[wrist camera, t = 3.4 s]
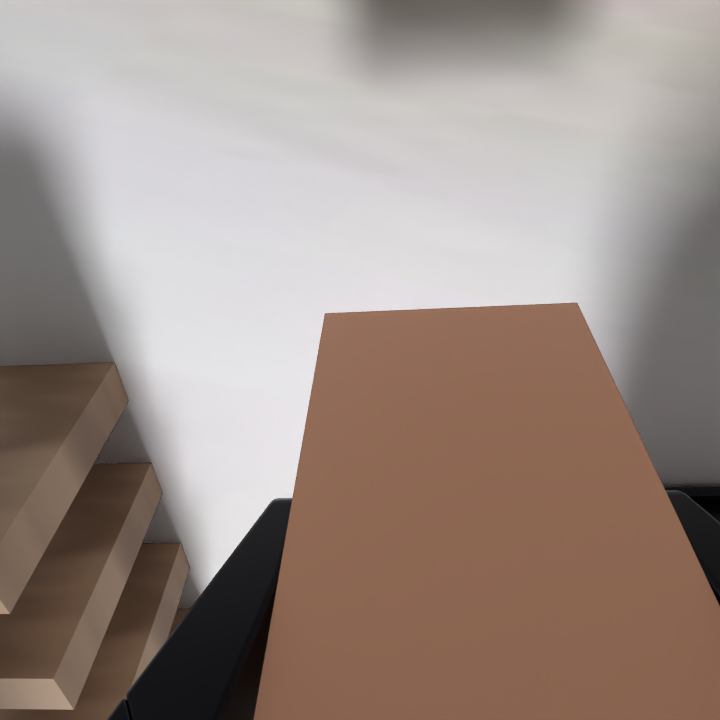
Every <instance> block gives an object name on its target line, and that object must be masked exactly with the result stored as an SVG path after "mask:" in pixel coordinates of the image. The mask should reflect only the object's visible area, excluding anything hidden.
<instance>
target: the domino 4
mask: <svg viewBox="0 0 720 720" xmlns="http://www.w3.org/2000/svg"><path fill="white" fill-rule="evenodd" d="M254 720H720V606H719V604H718V601H717V599H716V597H715V595H714V593H713V591H712V589H711V587H710V584H709V582H708V580H707V578H706V576H705V574H704V572H703V569H702V567H701V565H700V563H699V561H698V559H697V557H696V555H695V552H694V550H693V548H692V546H691V544H690V542H689V540H688V538H687V535H686V533H685V531H684V529H683V527H682V525H681V523H680V521H679V518H678V516H677V514H676V512H675V510H674V508H673V506H672V504H671V501H670V499H669V497H668V495H667V493H666V491H665V489H664V486H663V484H662V482H661V480H660V478H659V476H658V474H657V472H656V469H655V467H654V465H653V463H652V461H651V459H650V457H649V455H648V452H647V450H646V448H645V446H644V444H643V442H642V440H641V438H640V435H639V433H638V431H637V429H636V427H635V425H634V423H633V421H632V418H631V416H630V414H629V412H628V410H627V408H626V406H625V403H624V401H623V399H622V397H621V395H620V393H619V391H618V389H617V386H616V384H615V382H614V380H613V378H612V376H611V374H610V372H609V369H608V367H607V365H606V363H605V361H604V359H603V357H602V355H601V352H600V350H599V348H598V346H597V344H596V342H595V340H594V338H593V335H592V333H591V331H590V329H589V327H588V325H587V323H586V320H585V318H584V316H583V314H582V312H581V310H580V308H579V306H578V303H559V304H536V305H512V306H488V307H465V308H441V309H417V310H394V311H370V312H346V313H325V316H324V322H323V328H322V333H321V339H320V345H319V350H318V356H317V362H316V367H315V373H314V379H313V385H312V390H311V396H310V402H309V407H308V413H307V419H306V424H305V430H304V436H303V441H302V447H301V453H300V459H299V464H298V470H297V476H296V481H295V487H294V493H293V498H292V504H291V510H290V515H289V521H288V527H287V532H286V538H285V544H284V550H283V555H282V561H281V567H280V572H279V578H278V584H277V589H276V595H275V601H274V606H273V612H272V618H271V623H270V629H269V635H268V641H267V646H266V652H265V658H264V663H263V669H262V675H261V680H260V686H259V692H258V697H257V703H256V709H255V714H254Z"/></svg>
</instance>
